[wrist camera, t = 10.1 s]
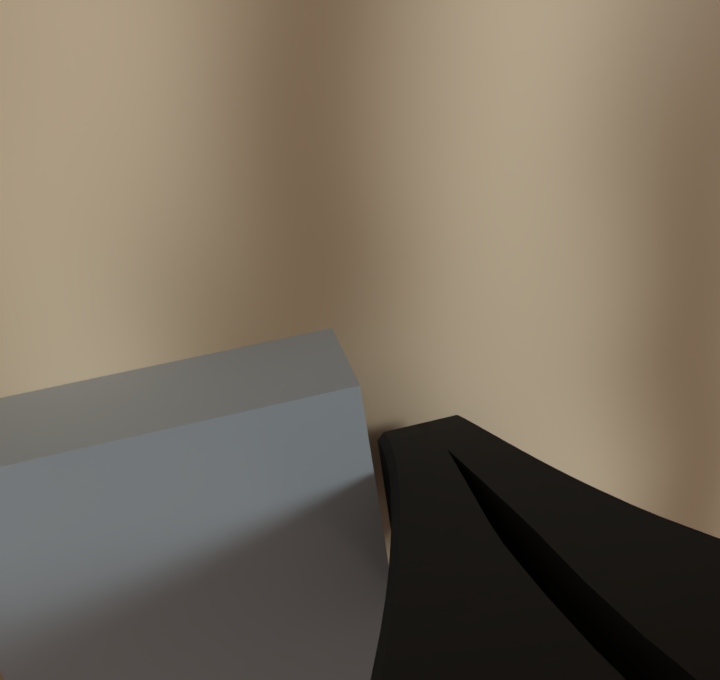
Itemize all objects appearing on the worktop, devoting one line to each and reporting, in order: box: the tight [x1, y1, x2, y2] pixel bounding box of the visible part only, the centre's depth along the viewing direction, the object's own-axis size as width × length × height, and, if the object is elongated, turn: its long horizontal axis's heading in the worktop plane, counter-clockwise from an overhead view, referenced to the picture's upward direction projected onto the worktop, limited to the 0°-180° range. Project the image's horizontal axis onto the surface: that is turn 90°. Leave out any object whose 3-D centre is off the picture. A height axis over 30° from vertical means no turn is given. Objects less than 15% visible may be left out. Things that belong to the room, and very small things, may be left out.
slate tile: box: [0, 328, 389, 680], centre depth 9 cm, size 5×5×2 cm
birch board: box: [0, 0, 720, 680], centre depth 13 cm, size 16×21×3 cm
